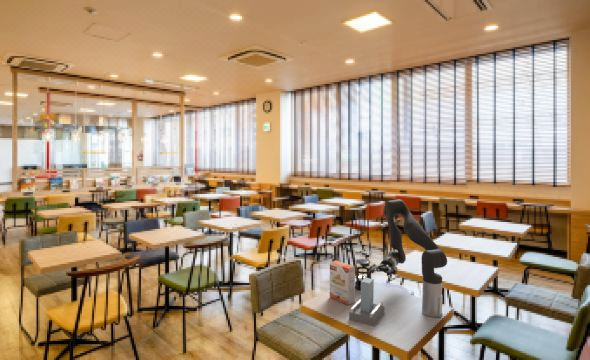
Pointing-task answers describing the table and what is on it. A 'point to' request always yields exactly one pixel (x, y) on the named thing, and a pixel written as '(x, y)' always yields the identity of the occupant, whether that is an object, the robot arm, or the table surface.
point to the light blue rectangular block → (367, 294)
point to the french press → (364, 264)
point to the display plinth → (366, 314)
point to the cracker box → (342, 282)
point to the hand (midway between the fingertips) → (379, 272)
